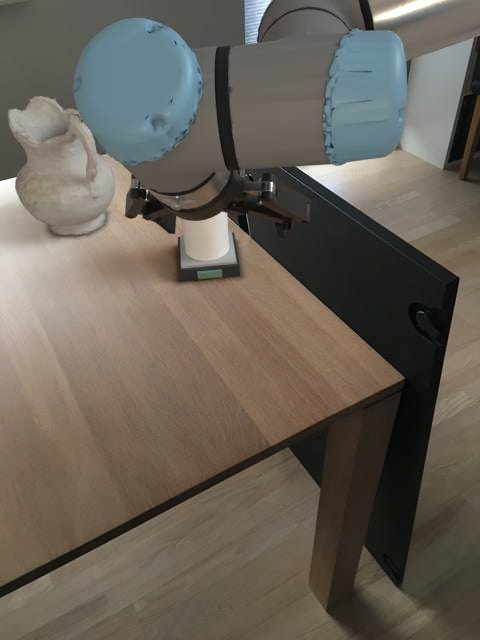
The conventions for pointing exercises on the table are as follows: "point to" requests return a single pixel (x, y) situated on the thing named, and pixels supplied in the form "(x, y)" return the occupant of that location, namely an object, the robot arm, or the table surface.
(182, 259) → the scale
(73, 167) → the ceramic pitcher
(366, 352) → the table surface
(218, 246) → the cup
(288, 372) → the table surface
